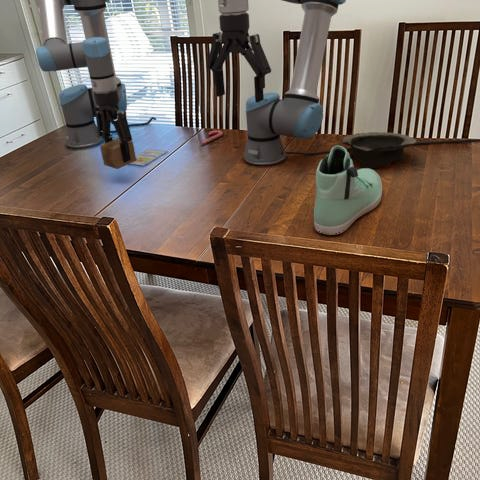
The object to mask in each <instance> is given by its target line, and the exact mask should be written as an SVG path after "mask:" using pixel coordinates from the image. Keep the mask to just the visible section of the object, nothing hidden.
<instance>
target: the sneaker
mask: <svg viewBox="0 0 480 480" xmlns="http://www.w3.org/2000/svg"><path fill="white" fill-rule="evenodd" d="M346 149H347V148H345V147H344V146H342V145H334V146H333V147H331V149H330V151H331V152H330V153H328V154H327V155H326V156H325V157H324V158H322V159H321V160H320V161H319V163H318V164H317V165H318V166H317V168H316V172H315V201H314V207H313V225H314V229H315V231H316V232H318V233H320V234H323V235H326V236H327V235H328V236H336V235H339V234H342V233H344V232H345V231H347V230H348V229H349V228H350V227H351V226H352V225H353V224H354V222H356V221H357V220H358V219H359V218H360V217H362V216H363V215H365V214H367V213H370V212H372V210H374V209H375V208H377V207H378V205H380V203H381V200H382V196H383V184H382V183H383V182H382V179H381V176H380V175H379V173H378V172H377V171H376V170H374V169H372V168H369V167H363V168H358V169H357V168H355V167H354V161H353V159H352V158H351V156H350V153H349V152H348V150H346ZM343 230H344V231H343ZM319 231H320V232H319ZM322 232H323V233H322ZM339 232H340V233H339ZM326 233H327V234H326ZM328 233H329V234H328ZM335 233H337V234H335Z"/></svg>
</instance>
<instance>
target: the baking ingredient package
mask: <svg viewBox="0 0 480 480" xmlns="http://www.w3.org/2000/svg"><path fill="white" fill-rule="evenodd" d="M165 153H166V151H162V150H155V149H146V150H145V151H143V152H141V153H139V154H138V155H135V156H136V161H134V162H132V163H130V164H129V165H137V166H145V165H147V164H149V163H151V162H152V161H154V160H155V159H157V158H159V157H160V156H162V155H163V154H165Z"/></svg>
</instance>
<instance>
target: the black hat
mask: <svg viewBox="0 0 480 480" xmlns="http://www.w3.org/2000/svg"><path fill="white" fill-rule="evenodd" d="M417 142H418V141H417V139H415V138H413V137H411V136H409V135H407V134H402V133H397V132H384V131H383V132H381V131H379V132H378V131H377V132H375V131H370V132H359V133H358V132H357V133H353V134H350V135H345V136H344V137H342V141H341V144H342V145H346V146H348V147H349V148H351V150H350V152H351V155H352V156H353V157H354V159H356V160H358V161H359V162H360V166H361V167H363V168H369V169H372V168H373V169H377V168H380V167H382V168H385V167H389V166H390V165H391V164H392V162H393V163H394V162H395V163H397V162H401V161H402V160H403V156H404V148H408V147H411V146H413V145H416V144H415V143H417Z"/></svg>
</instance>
